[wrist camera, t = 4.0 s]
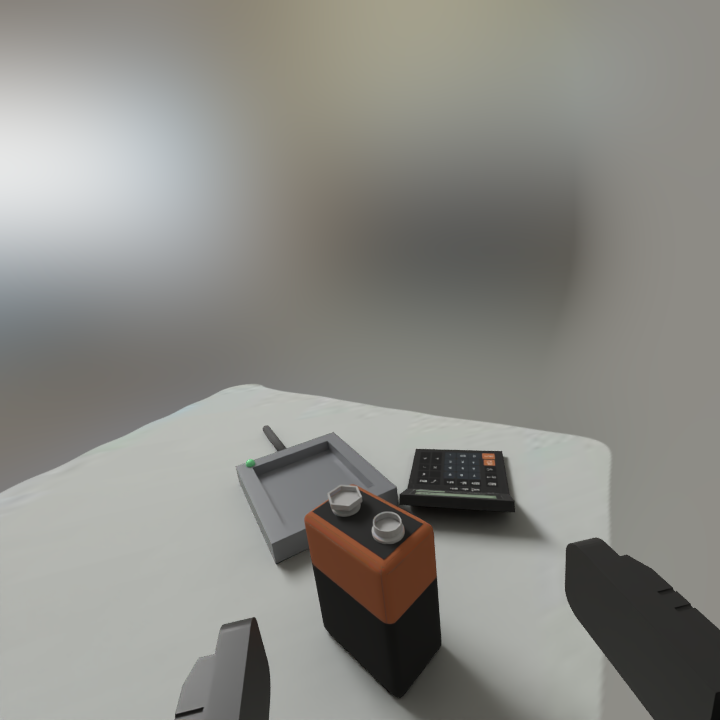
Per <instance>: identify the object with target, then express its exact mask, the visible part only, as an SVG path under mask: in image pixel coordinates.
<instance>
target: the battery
mask: <svg viewBox="0 0 720 720" xmlns="http://www.w3.org/2000/svg"><path fill="white" fill-rule="evenodd" d="M327 494H328V500H327V501H325V502H324V503H322V504H321V505H319V506H318V507H316V508H315V509H313V510H312V511H310V512H309V513H308V514H306V516H305V518H304V522H305V528H306V533H307V539H308V544H309V549H310V554H311V560H312V565H313V570H314V576H315V581H316V586H317V592H318V597H319V602H320V607H321V613H322V618H323V623H324V627H325V628H326V630H327V631H328V632H329V633H330V634H331V635H332V636H333V637H334V638H335V639H336V640H337V641H338V642H339V643H340V644H341V645H342V646H343V647H344V648H345V649H346V650H347V651H348V652H349V653H351V654H352V655H353V656H354V657H355V658H356V659H357V660H358V661H359V662H360V663H361V664H362V665H363V666H364V667H365V668H366V669H367V670H368V671H369V672H370V673H371V674H372V675H373V676H374V677H375V678H376V679H377V680H378V681H379V682H380V683H381V684H382V685H383V686H384V687H385V688H386V689H387V690H388V691H389V692H390V693H391V694H393V695H394V696H396V697H402V696H403V695H404V694H405V693H406V691H407V690H408V689H409V687H410V686H411V685H412V683H413V682H414V681H415V679H416V678H417V677H418V676H419V674H420V673H421V672H422V670H423V669H424V668H425V666H426V665H427V664H428V662H429V661H430V660H431V658H432V657H433V656H434V655H435V653H436V652H437V651H438V649H439V648H440V646H441V629H440V615H439V601H438V587H437V573H436V559H435V545H434V532H433V528H432V526H431V525H430V524H429V523H427V522H425V521H423V520H422V519H420V518H418V517H416V516H414V515H412V514H410V513H408V512H406V511H405V510H403V509H401V508H399V507H397V506H395V505H393V504H391V503H389V502H387V501H386V500H384V499H382V498H380V497H378V496H376V495H374V494H372V493H370V492H368V491H367V490H365V489H363V488H361V487H359V486H357V485H354V484H351V485H339V486H338V487H336V488H335V489H333V490H332V491H330V492H328V493H327Z"/></svg>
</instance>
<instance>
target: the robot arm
mask: <svg viewBox="0 0 720 720" xmlns="http://www.w3.org/2000/svg"><path fill="white" fill-rule="evenodd" d="M565 592H566V597H567V600H568V602H569V605H570V607H571V609H572V611H573V613H574V614H575V616H576V617H577V619H578V620H579V621H580V623H581V624H582V625H583V627H584V628H585V629H586V631H587V632H588V633H589V635H590V636H591V637H592V638H593V640H594V641H595V642H596V644H597V645H598V646H599V648H600V649H601V650H602V652H603V653H604V654H605V656H606V657H607V658H608V660H609V661H610V662H611V663H612V665H613V666H614V667H615V669H616V670H617V671H618V673H619V674H620V675H621V677H622V678H623V679H624V681H625V682H626V683H627V684H628V686H629V687H630V688H631V690H632V691H633V692H634V694H635V695H636V696H637V698H638V699H639V700H640V701H641V703H642V704H643V706H644V707H645V708H646V710H647V711H648V712H649V714H650V715H651V716H652V717H653V719H654V720H720V630H719V629H718V628H717V627H716V626H715V625H714V624H712V623H711V622H710V621H709V620H708V619H707V618H706V617H705V616H704V615H703V614H701V613H700V612H699V611H698V610H697V609H696V608H692V606H691V604H690V603H689V602H688V601H687V600H686V599H685V598H684V597H683V596H681V595H680V594H679V593H678V592H677V591H676V592H675V591H674V590H673V587H671V586H670V585H669V584H668V583H667V582H666V581H665V580H664V579H663V578H661V577H660V576H659V575H658V574H657V573H656V572H655V571H654V570H653V569H651V568H649V567H648V566H646V565H644V564H642V563H641V562H639V561H637V560H635V559H633V558H632V557H630V556H628V555H624V556H619V555H618V554H617V553H616V552H615V551H614V550H613V549H612V548H611V547H610V546H609V545H607V544H606V543H605V542H604V541H603V540H601V539H599V538H592V539H587V540H583V541H579V542H575V543H570V544H568V545H567V548H566V571H565ZM269 708H270V672H269V665H268V660H267V656H266V653H265V649H264V645H263V642H262V638H261V634H260V631H259V627H258V623H257V620H256V618H255V617H253V618H249V619H245V620H240V621H236V622H232V623H228V624H224V625H222V627H221V629H220V632H219V636H218V641H217V646H216V651H215V654H213V655H209V656H205V657H201V658H199V659H198V660H197V662H196V664H195V665H194V667H193V669H192V670H191V672H190V674H189V675H188V677H187V679H186V680H185V682H184V684H183V686H182V690H181V694H180V697H179V701H178V705H177V709H176V712H175V720H269Z"/></svg>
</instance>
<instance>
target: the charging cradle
mask: <svg viewBox="0 0 720 720" xmlns="http://www.w3.org/2000/svg"><path fill="white" fill-rule="evenodd" d="M263 431H264V433H265V434H266V436H267V437H268V438H269V440H270V441H271V442H272V444H273V445H274V447H275V448H276V449H277V451H278V452H275V453H273V454H270V455H267V456H264V457H261V458H258V459H255V460H252V459H249V460H248V461H247V462H246V463H244V464H241V465H238V466H236V470H237V474H238V479H239V482H240V485H241V487H242V489H243V491H244V494H245V496H246V498H247V500H248V503H249V505H250V507H251V509H252V511H253V514H254V516H255V518H256V520H257V523H258V525H259V527H260V529H261V532H262V534H263V536H264V538H265V541H266V543H267V545H268V547H269V549H270V552H271V554H272V556H273V558H274V561H275V563H276V564H277V563H279V562H281V561H283V560H285V559H287V558H289V557H291V556H293V555H295V554H298V553H300V552H302V551H304V550H306V549H308V548H309V544H308V539H307V533H306V528H305V522H304V518H305V516H306V514H308V513H309V512H310V511H312V510H313V509H315V508H316V507H318V506H319V505H321V504H322V503H324V502H325V501H327V500H328V494H327V493H328V492H330V491H332V490H333V489H335V488H336V487H338V486H339V485H351V484H354V485H357V486H359V487H361V488H363V489H365V490H367V491H368V492H370V493H372V494H374V495H376V496H378V497H380V498H382V499H384V500H386V501H387V502H389V503H391V504H393V505H395V506H398V495H397V487H396V486H395V485H394V484H393V483H391V482H390V481H389V480H388V479H387V478H386V477H385V476H383V475H382V474H381V473H380V472H379V471H378V470H376V469H375V468H374V467H373V466H372V465H371V464H370V463H368V462H367V461H366V460H365V459H364V458H363V457H362V456H360V455H359V454H358V453H357V452H356V451H355V450H354V449H352V448H351V447H350V446H349V445H348V444H347V443H346V442H344V441H343V440H342V439H341V438H340V437H339V436H337V435H336V434H335V433H334V432H332V433H329V434H327V435H324V436H321V437H318V438H315V439H312V440H310V441H307V442H304V443H301V444H298V445H295V446H292V447H290V448H287V449H286V447H285V446H284V445H283V444H282V442H281V441H280V440H279V438H278V437H277V436H276V435H275V433H274V432H273V431H272V430H271V428H270V427H269V426H264V427H263Z"/></svg>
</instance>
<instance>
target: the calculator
mask: <svg viewBox="0 0 720 720" xmlns="http://www.w3.org/2000/svg"><path fill="white" fill-rule="evenodd" d="M400 505H413V506H428V507H443V508H458V509H474V510H489V511H504V512H515V506H514V500H513V499H512V497H511V496H510V494H509V489H508V483H507V478H506V472H505V466H504V460H503V454H502V451H473V450H435V449H416V452H415V456H414V461H413V466H412V470H411V475H410V479H409V484H408V489H406V490H405V491H404V492H402V493H401V494H400Z"/></svg>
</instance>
